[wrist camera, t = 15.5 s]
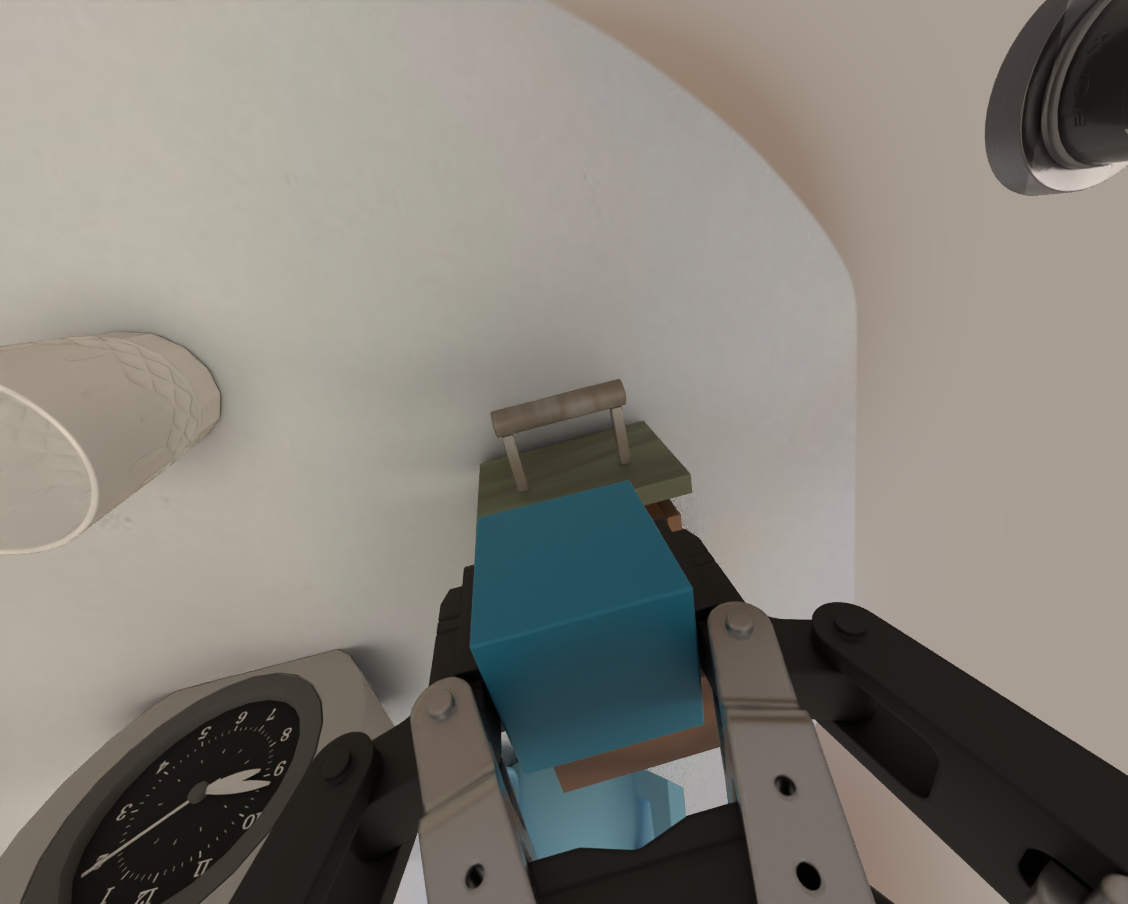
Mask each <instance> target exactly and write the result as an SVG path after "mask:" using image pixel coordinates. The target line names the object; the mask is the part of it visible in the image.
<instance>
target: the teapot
mask: <svg viewBox="0 0 1128 904" xmlns="http://www.w3.org/2000/svg"><path fill="white" fill-rule="evenodd" d="M506 768H507V771H508V774H509V777H510V780H511V783H512V786H513V789H514V792H515V795H516V798H517V801H518V804H519V807H520V810H521V813H522V816H523V818H524V821H525V824H526V827H527V830H528V833H529V836H530V839H531V842H532V844H533V847H534V850H535V852H536V855H537V857H538V859H541V858H545V857H548V856H552V855H555V854H558V853H562V852H565V851H569V850H572V849H576V848H579V847H584V848H605V849H626V850H635V849H639V848H641V847H643V846H644V845H646V844H647V843H649V842H650V841H652V840H653V839H654V838H656V837H657V836H659V835H660V834H662V833H663V832H664V831H666V830H667V829H669V828H670V827H672V826H673V825H674V824H676V823H677V822H679V821H680V820H682V819H683V818H684V817H686V810H685V801H684V791H683V787H681V786H679V785H677V784H675V783H673V782H671V781H669V780H667V779H665V778H663V777H660V776H658V775H656V774H654V773H651V772H649V771H647V770H645V769H644V770H640V771H637V772H634V773H630V774H627V775H624V776H620V777H617V778H613V779H610V780H607V781H603V782H600V783H597V784H593V785H590V786H586V787H583V788H580V789H576V790H573V791H570V792H566V793H564V792H563V790H562V788H561V785H560V783H559V780H558V778H557V775H556V773H555V770H554V768H553V767H551V768H548V769H544V770H541V771H537V772H534V773H530V774H524V772H523V770H522V768H521V766H520V763H519V761H518V762H517V763H515V764H514V765H513V766H512V767H509V766H506Z"/></svg>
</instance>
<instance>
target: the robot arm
mask: <svg viewBox="0 0 1128 904" xmlns="http://www.w3.org/2000/svg"><path fill="white" fill-rule="evenodd" d="M1041 130H1042V136H1043V140H1044V144H1045V147H1046V149H1047V151H1048V153H1049V154H1050V156H1051V157H1052V158H1053V159H1054V160H1055V161H1056V162H1057V163H1058V164H1060V165H1061V166H1064V167H1066V168H1070V169H1088V168H1096V167H1102V166H1106V165H1110V164H1113V163H1119V162H1126V161H1128V0H1099V1H1098V2H1097V3H1096V4H1095V5H1094V6H1093V7H1092V8H1091V9H1090V10H1089V11H1088V12H1087V13H1086V15H1085V16H1084V17H1083V18H1082V19H1081V21H1080V22H1079V23H1078V25H1077V26H1076V27H1075V29H1074V30H1073V32H1072V33H1071V35H1070V36H1069V38H1068V39H1067V41H1066V43H1065V44H1064V46H1063V48H1062V50H1061V52H1060V54H1059V56H1058V58H1057V60H1056V62H1055V64H1054V67H1053V69H1052V72H1051V74H1050V77H1049V80H1048V83H1047V86H1046V90H1045V94H1044V99H1043V104H1042V113H1041ZM652 520H653V521H654V523H655V525H656V526H657V528H658V530H659V532H660V533H661V535H662V537H663V538H664V540H665V542H666V543H667V545H668V547H669V548H670V550H671V552H672V554H673V555H674V557H675V559H676V560H677V562H678V564H679V565H680V567H681V569H682V570H683V572H684V574H685V576H686V577H687V579H688V581H689V582H690V584H691V586H692V587H693V597H694V608H695V619H696V631H697V642H698V653H699V665H700V676H701V677H705V676H706V678H707V680H708V682H709V684H710V686H711V688H712V693H713V704H714V710H715V717H716V723H717V730H718V736H719V743H720V749H721V755H722V762H723V768H724V775H725V782H726V789H727V798H728V804H726V805H722V806H719V807H716V808H712V809H709V810H705V811H702V812H698V813H695V814H692V815H688V816H686V817H684V818H683V819H682V820H680V821H679V822H677V823H676V824H674V825H673V826H672V827H670V828H669V829H667V830H666V831H664V832H663V833H662V834H660V835H659V836H657V837H656V838H654V839H653V840H652V841H650V842H649V843H647V844H646V845H644V846H643V847H641V848H639V849H635V850H626V849H605V848H584V847H579V848H576V849H572V850H569V851H565V852H562V853H558V854H555V855H552V856H548V857H545V858H541V859H538V857H537V855H536V852H535V850H534V847H533V844H532V842H531V839H530V836H529V833H528V830H527V827H526V824H525V821H524V818H523V816H522V813H521V810H520V807H519V804H518V801H517V798H516V795H515V792H514V789H513V786H512V783H511V780H510V777H509V774H508V771H507V768H506V765H505V762H504V759H503V757H502V755H501V732H504V731H505V728H504V726H503V724H502V721H501V719H500V717H499V715H498V712H497V710H496V708H495V705H494V703H493V701H492V698H491V696H490V694H489V691H488V689H487V687H486V684H485V682H484V680H483V677H482V675H481V673H480V670H479V668H478V666H477V663H476V661H475V659H474V656H473V654H472V652H471V649H470V631H471V614H472V597H473V580H474V565H470V566H467V567H465V568H464V573H463V584H462V586H461V587H457V588H453V589H450V590H449V592H448V593H447V595H446V597H445V598H444V600H443V602H442V603H441V606H440V613H439V623H438V627H437V636H436V641H435V648H434V654H433V661H432V668H431V675H430V682H429V687H428V688H426V689H425V690H424V691H423V692H422V693H421V695H420V696H419V697H418V699H417V700H416V702H415V704H414V706H413V708H412V711H411V715H410V716H409V717H408V718H407V719H406V720H404V721H403V722H401V723H400V724H398V725H397V726H395V727H393V728H392V729H390V730H388V731H387V732H385V733H383V734H382V735H380V736H378V737H376V738H375V739H373V740H371V739H370V737H369V736H368V735H367V734H365V733H363V732H358V731H356V732H349V733H346V734H343V735H341V736H339V737H337V738H335V739H334V740H333V741H331V742H330V743H328V744H327V745H326V746H325V747H324V748H323V749H322V750H321V751H320V752H319V753H318V754H317V755H316V757H315V758H314V759H313V761H312V762H311V764H310V765H309V767H308V769H307V770H306V772H305V774H304V775H303V777H302V779H301V780H300V782H299V784H298V786H297V787H296V789H295V791H294V792H293V794H292V796H291V797H290V799H289V801H288V803H287V804H286V806H285V808H284V809H283V811H282V813H281V815H280V816H279V818H278V820H277V821H276V823H275V825H274V826H273V828H272V830H271V832H270V833H269V835H268V837H267V838H266V840H265V842H264V844H263V845H262V847H261V849H260V850H259V852H258V854H257V855H256V857H255V859H254V861H253V862H252V864H251V866H250V867H249V869H248V871H247V872H246V874H245V876H244V878H243V879H242V881H241V883H240V884H239V886H238V888H237V890H236V891H235V893H234V895H233V896H232V898H231V900H230V901H229V903H228V904H393V902H394V899H395V897H396V894H397V891H398V888H399V885H400V882H401V879H402V876H403V873H404V871H405V868H406V865H407V862H408V859H409V856H410V853H411V850H412V847H413V845H414V842H415V839H416V836H417V833H418V835H419V844H420V851H421V858H422V865H423V873H424V880H425V887H426V894H427V902H428V904H894V903H893V902H892V901H890V900H889V899H888V898H886V897H885V896H884V895H882V894H881V893H880V892H878V891H877V890H876V889H875V888H873V887H872V886H870V885H869V883H868V880H867V877H866V874H865V871H864V868H863V865H862V863H861V860H860V857H859V854H858V851H857V848H856V845H855V842H854V839H853V837H852V834H851V831H850V828H849V825H848V822H847V819H846V816H845V814H844V810H843V808H842V805H841V802H840V799H839V796H838V793H837V790H836V787H835V784H834V782H833V779H832V776H831V773H830V770H829V767H828V764H827V761H826V758H825V756H824V753H823V750H822V747H821V744H820V741H819V738H818V735H817V732H816V730H815V727H814V724H813V721H812V719H815V720H816V721H817V722H818V723H819V724H820V725H821V726H822V727H823V728H824V729H825V730H826V731H827V732H829V733H830V734H831V735H832V736H833V737H834V738H835V739H836V740H837V741H838V742H839V743H840V744H841V745H842V746H843V747H844V748H845V749H847V750H848V751H849V752H850V753H851V754H852V755H853V756H854V757H855V758H856V759H857V760H858V761H859V762H860V763H861V764H862V765H863V766H865V767H866V768H867V769H868V770H869V771H870V772H871V773H872V774H873V775H874V776H875V777H876V778H877V779H878V780H879V781H881V782H882V784H884V785H885V786H886V787H887V788H888V789H889V790H890V791H891V792H892V793H893V794H894V795H895V796H896V797H897V798H898V799H899V800H900V801H902V802H903V803H904V804H905V805H906V806H907V807H908V808H909V809H910V810H911V811H912V812H913V813H914V814H915V815H917V817H919V818H920V819H921V820H922V821H923V822H924V823H925V824H926V825H927V826H928V827H929V828H930V829H931V830H932V831H933V832H934V833H935V834H937V835H938V836H939V837H940V838H941V839H942V840H943V841H944V842H945V843H946V844H947V845H948V846H949V847H950V848H951V849H952V850H953V851H954V852H955V853H957V854H958V855H959V856H960V857H961V858H962V859H963V860H964V861H965V862H966V863H967V864H968V865H970V867H971V868H972V869H974V870H975V871H976V872H977V873H978V874H979V875H980V876H981V877H982V878H983V879H984V880H985V881H986V882H987V883H988V884H989V885H990V886H991V887H993V888H994V889H995V890H996V891H997V892H998V893H999V894H1000V895H1001V896H1002V897H1003V898H1004V899H1005V900H1006V901H1007V902H1008V903H1009V904H1128V775H1126V774H1124V773H1123V772H1121V771H1120V770H1118V769H1117V768H1115V767H1113V766H1112V765H1110V764H1109V763H1107V762H1106V761H1104V760H1102V759H1101V758H1099V757H1098V756H1096V755H1095V754H1093V753H1091V752H1090V751H1088V750H1087V749H1085V748H1083V747H1082V746H1080V745H1079V744H1077V743H1076V742H1074V741H1072V740H1071V739H1069V738H1068V737H1066V736H1065V735H1063V734H1062V733H1060V732H1058V731H1057V730H1055V729H1054V728H1052V727H1051V726H1049V725H1047V724H1046V723H1044V722H1042V721H1041V720H1039V719H1038V718H1036V717H1035V716H1033V715H1032V714H1030V713H1029V712H1027V711H1025V710H1024V709H1022V708H1021V707H1019V706H1018V705H1016V704H1014V703H1013V702H1011V701H1010V700H1008V699H1007V698H1005V697H1003V696H1002V695H1000V694H999V693H997V692H996V691H994V690H992V689H991V688H989V687H988V686H986V685H985V684H983V683H981V682H980V681H978V680H977V679H975V678H973V677H972V676H970V675H969V674H967V673H965V672H964V671H963V670H961V669H959V668H958V667H956V666H955V665H953V664H952V663H950V662H948V661H947V660H945V659H944V658H942V657H941V656H939V655H937V654H936V653H934V652H933V651H931V650H930V649H928V648H926V647H925V646H923V645H922V644H920V643H918V642H917V641H915V640H914V639H912V638H911V637H909V636H908V635H906V634H904V633H903V632H901V631H900V630H898V629H896V628H895V627H893V626H892V625H890V624H889V623H887V622H886V621H884V620H882V619H881V618H879V617H878V616H876V615H875V614H873V613H871V612H869V611H868V610H866V609H864V608H862V607H860V606H856V605H853V604H849V603H842V602H833V603H827V604H824V605H822V606H820V607H819V608H817V609H816V610H815V612H814V613H813V616H812V620H797V619H778V618H772V617H769V616H767V615H766V614H765V613H764V612H763V611H762V610H760V609H759V608H757V607H755V606H753V605H751V604H748V603H746V602H745V601H744V600H743V599H742V597H741V596H740V595H739V593H738V592H737V590H736V589H735V588H734V586H733V585H732V583H731V582H730V581H729V579H728V578H727V576H726V575H725V574H724V572H723V571H722V569H721V568H720V567H719V565H718V564H717V562H715V560H714V558H713V557H712V555H711V554H710V553H709V552H708V550H707V548H706V547H705V546H704V544H703V543H702V541H701V540H700V539H699V537H697V536H695V535H694V534H692V533H691V532H689V531H687V530H686V529H681V530H678V531H674V532H672V530H671V529H670V527H669V526H668V524H667V522H666V521H665V519H664V518H663V517H658V518H654V519H652Z"/></svg>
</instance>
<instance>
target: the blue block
mask: <svg viewBox="0 0 1128 904" xmlns="http://www.w3.org/2000/svg"><path fill="white" fill-rule="evenodd" d="M470 649H471V652H472V654H473V656H474V659H475V661H476V663H477V666H478V668H479V670H480V673H481V675H482V677H483V680H484V682H485V684H486V687H487V689H488V691H489V694H490V696H491V698H492V701H493V703H494V705H495V708H496V710H497V712H498V715H499V717H500V719H501V721H502V724H503V726H504V728H505V731H506V733H507V735H508V738H509V740H510V742H511V745H512V747H513V749H514V752H515V754H516V756H517V759H518V761H519V763H520V766H521V768H522V770H523V772H524V774H530V773H534V772H537V771H541V770H544V769H548V768H551V767H555V766H559V765H562V764H566V763H569V762H573V761H576V760H580V759H583V758H587V757H590V756H594V755H598V754H601V753H605V752H608V751H612V750H615V749H619V748H622V747H626V746H629V745H633V744H636V743H640V742H644V741H647V740H651V739H654V738H658V737H661V736H665V735H668V734H672V733H675V732H679V731H683V730H686V729H690V728H693V727H697V726H700V725H703V724H704V710H703V699H702V687H701V676H700V665H699V653H698V642H697V631H696V619H695V608H694V597H693V587H692V586H691V584H690V582H689V581H688V579H687V577H686V576H685V574H684V572H683V570H682V569H681V567H680V565H679V564H678V562H677V560H676V559H675V557H674V555H673V554H672V552H671V550H670V548H669V547H668V545H667V543H666V542H665V540H664V538H663V537H662V535H661V533H660V532H659V530H658V528H657V526H656V525H655V523H654V521H653V520H652V518H651V516H650V515H649V513H648V511H647V509H646V508H645V506H644V504H643V503H642V501H641V499H640V498H639V496H638V494H637V493H636V491H635V489H634V487H633V486H632V484H631V482H630V481H629V480H626V481H622V482H618V483H614V484H610V485H606V486H602V487H598V488H594V489H590V490H586V491H582V492H578V493H575V494H571V495H567V496H563V497H559V498H555V499H551V500H547V501H543V502H539V503H535V504H531V505H527V506H523V507H519V508H515V509H511V510H507V511H503V512H499V513H495V514H491V515H487V516H483V517H480V518H478V519H477V529H476V546H475V563H474V580H473V597H472V614H471V631H470Z"/></svg>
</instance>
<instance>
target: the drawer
mask: <svg viewBox="0 0 1128 904" xmlns="http://www.w3.org/2000/svg"><path fill="white" fill-rule="evenodd" d="M625 404H626V395H625V390H624V387H623V384H622V382H621V380H620V379H616V380H612V381H609V382H605V383H601V384H597V385H593V386H589V387H585V388H582V389H578V390H574V391H570V392H566V393H562V394H558V395H554V396H551V397H547V398H543V399H539V400H535V401H531V402H527V403H524V404H520V405H516V406H512V407H508V408H504V409H500V410H496V411H493V412H491V419H492V423H493V427H494V430H495V433H496V436H497V437H498V438H499V437H502V440H503V443H504V447H505V450H506V453H507V456H508V457H504V458H501V459H497V460H493V461H489V462H485V463H482V464H480V474H479V491H478V508H477V519H478V518H480V517H483V516H487V515H491V514H495V513H499V512H503V511H507V510H511V509H515V508H519V507H523V506H527V505H531V504H535V503H539V502H543V501H547V500H551V499H555V498H559V497H563V496H567V495H571V494H575V493H578V492H582V491H586V490H590V489H594V488H598V487H602V486H606V485H610V484H614V483H618V482H622V481H626V480H629V481H630V482H631V484H632V486H633V487H634V489H635V491H636V493H637V494H638V496H639V498H640V499H641V501H642V503H643V504H644V506H645V508H646V509H647V511H648V513H649V515H650V516H651V518H652V519H654V518H658V517H663V518H664V519H665V521H666V522H667V524H668V526H669V527H670V529H671V530H672V532H674V531H678V530H681V529H682V523H681V515H680V513H679V512H678V510H677V509H676V508H675V506H674V505H673V503H672V502H671V501H670V499H671V498H674V497H678V496H682V495H685V494H689V493H692V484H691V474H690V473H689V472H688V471H687V469H686V468H685V467H684V466H683V465H682V464H681V463H680V462H679V460H678V459H677V458H676V457H675V456H674V455H673V454H672V452H671V451H670V450H669V449H668V448H667V447H666V446H665V445H664V443H663V442H662V441H661V440H660V439H659V438H658V437H657V435H656V434H655V433H654V432H653V431H652V430H651V429H650V428H649V426H648V425H647V424H646V423H645V422H644V421H641V422H637V423H633V424H630V425H626V426H625V422H624V416H623V410H622V407H621V405H625ZM606 409H610V415H611V420H612V426H613V429H611V430H607V431H603V432H599V433H596V434H592V435H588V436H584V437H580V438H577V439H573V440H569V441H565V442H561V443H558V444H554V445H550V446H546V447H542V448H539V449H535V450H531V451H527V452H523V453H520V454H519V452H518V449H517V445H516V442H515V438H514V435H513V434H514V433H518V432H522V431H526V430H530V429H533V428H537V427H541V426H545V425H549V424H553V423H556V422H560V421H564V420H568V419H572V418H576V417H579V416H583V415H587V414H591V413H595V412H598V411H602V410H606ZM476 529H477V525H476Z"/></svg>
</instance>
